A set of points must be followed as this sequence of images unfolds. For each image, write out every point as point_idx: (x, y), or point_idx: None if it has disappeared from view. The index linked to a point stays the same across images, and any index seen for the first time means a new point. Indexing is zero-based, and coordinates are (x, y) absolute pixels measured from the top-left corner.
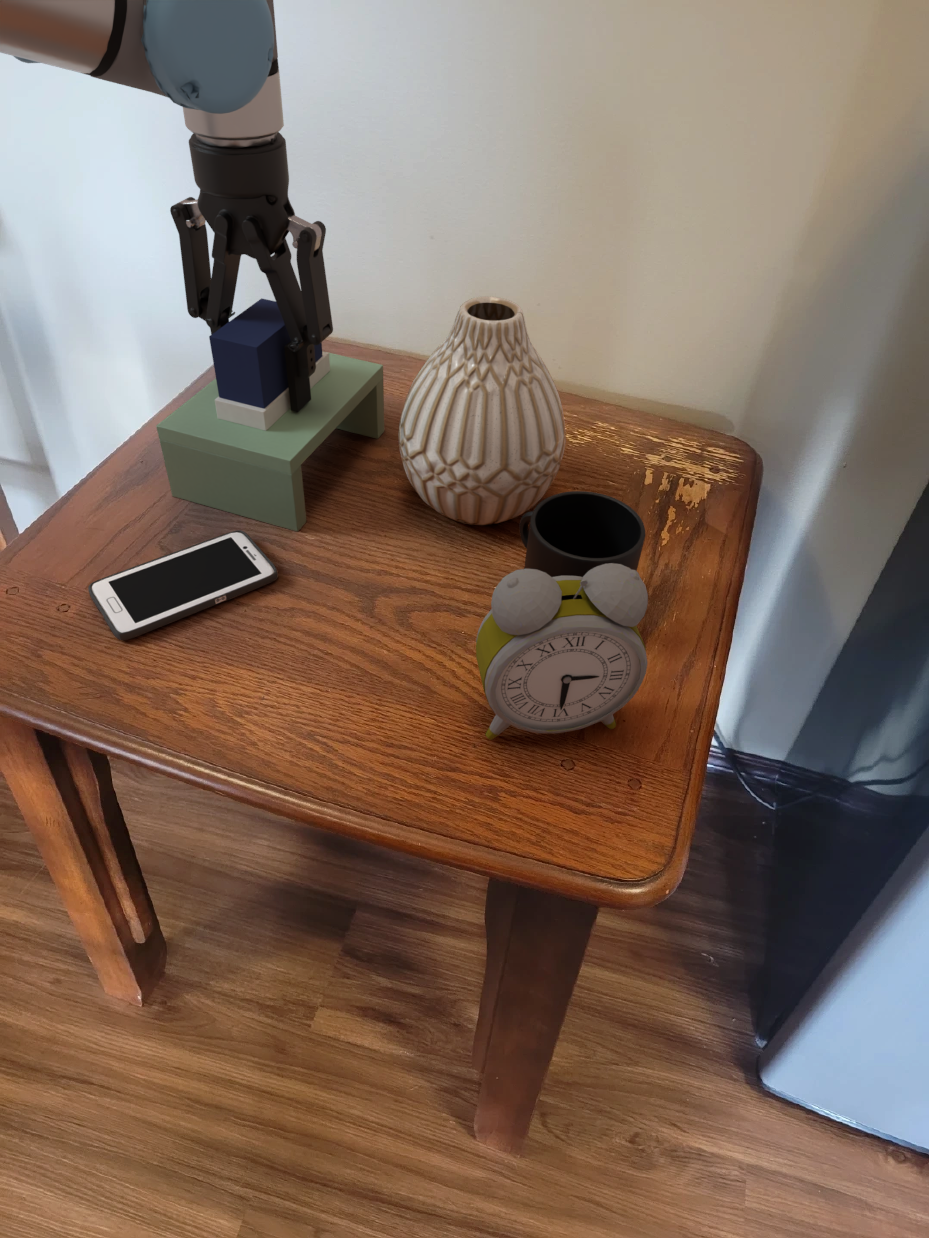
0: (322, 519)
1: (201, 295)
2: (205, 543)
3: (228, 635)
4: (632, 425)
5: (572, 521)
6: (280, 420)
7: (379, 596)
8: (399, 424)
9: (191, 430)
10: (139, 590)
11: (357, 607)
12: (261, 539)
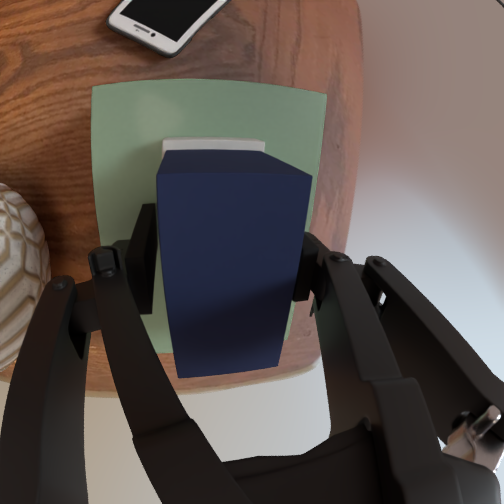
0: None
1: (379, 308)
2: (198, 24)
3: None
4: (10, 366)
5: None
6: None
7: (20, 65)
8: (13, 242)
9: (275, 95)
10: None
11: (32, 43)
12: (152, 67)
